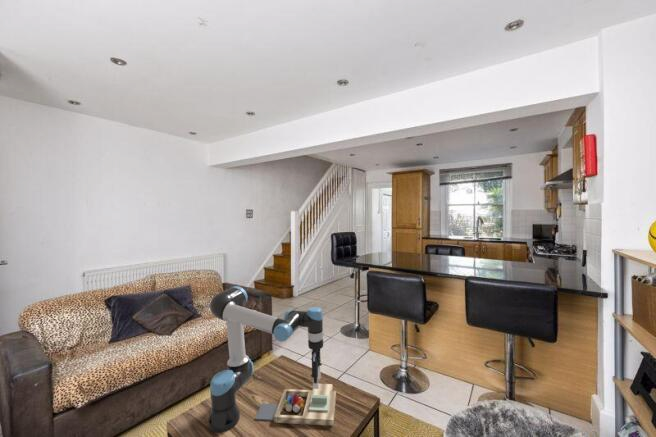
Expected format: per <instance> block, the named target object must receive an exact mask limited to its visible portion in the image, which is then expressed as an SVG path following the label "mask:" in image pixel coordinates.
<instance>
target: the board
mask: <svg viewBox="0 0 656 437" xmlns="http://www.w3.org/2000/svg"><path fill="white" fill-rule="evenodd" d="M333 389H334V386H333V384H332V383H319V389H313V388H312V389H295V388H294V389H293V388H292V389H289V388H284V390H283V392H282V394H281V397H280V399H279V403H278V404H279V405H278V407H277V410H276V412H275V415H274V421H273V423H275V424H279V423H280V424H295V425H296V424H298V425H313V426H314V425H315V426H329V427H333V426H334V420H335V413H336V412H335V409H336V401H337V391H336V390H333ZM292 394H294V395H295V397H296V396H297V395H299V397H301V398H304V397H306V401H305V404H304V410H303V411H302V412H303V413H302V415H295V414H293V415H292V414H281V413H282V411H283V407H284V404H285V403H286V400H287V397H288V396H291V395H292ZM312 395H329V396H330V399H329V407H328V411H309V406H310V401H311V397H312ZM299 397H298V398H299Z"/></svg>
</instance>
